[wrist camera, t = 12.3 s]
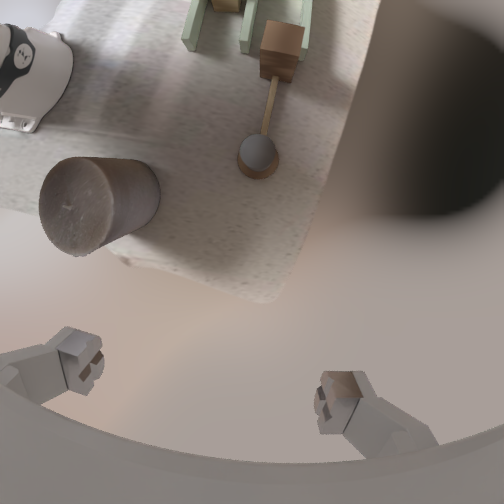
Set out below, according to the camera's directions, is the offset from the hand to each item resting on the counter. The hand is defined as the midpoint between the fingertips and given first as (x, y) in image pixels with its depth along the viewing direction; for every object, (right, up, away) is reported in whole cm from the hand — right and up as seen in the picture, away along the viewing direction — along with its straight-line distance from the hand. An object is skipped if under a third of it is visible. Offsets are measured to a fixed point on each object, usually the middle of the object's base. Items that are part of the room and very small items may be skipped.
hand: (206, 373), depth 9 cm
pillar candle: (-15, +12, +27) cm, 33 cm away
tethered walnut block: (+4, +22, +24) cm, 33 cm away
